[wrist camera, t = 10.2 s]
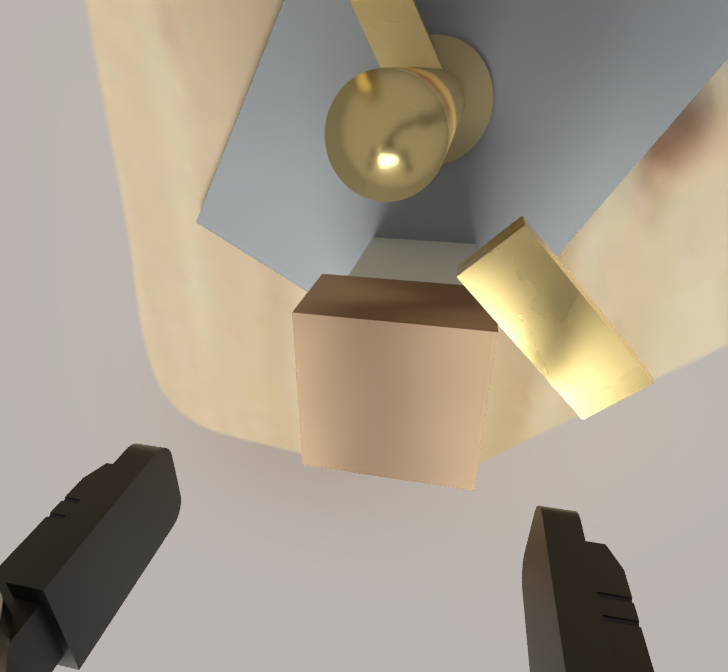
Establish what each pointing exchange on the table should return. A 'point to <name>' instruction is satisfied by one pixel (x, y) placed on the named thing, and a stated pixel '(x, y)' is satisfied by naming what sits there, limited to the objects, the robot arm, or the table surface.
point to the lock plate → (459, 130)
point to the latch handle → (504, 251)
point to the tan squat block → (393, 378)
